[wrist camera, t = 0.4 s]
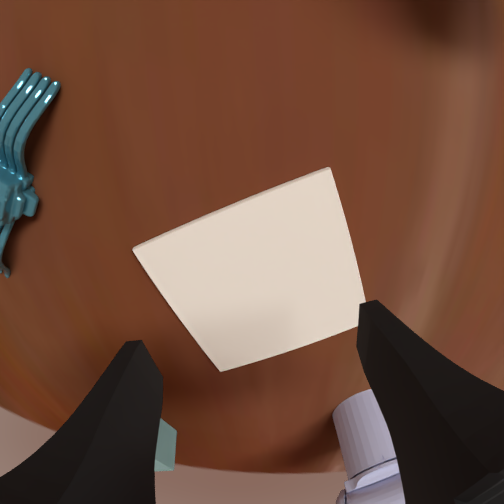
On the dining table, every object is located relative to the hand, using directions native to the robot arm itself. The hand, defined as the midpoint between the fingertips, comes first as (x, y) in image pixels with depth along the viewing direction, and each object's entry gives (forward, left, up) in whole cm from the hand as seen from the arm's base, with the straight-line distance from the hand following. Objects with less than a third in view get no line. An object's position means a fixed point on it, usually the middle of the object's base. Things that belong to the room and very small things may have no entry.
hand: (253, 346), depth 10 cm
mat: (-5, 0, -9) cm, 10 cm away
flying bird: (+9, +13, -10) cm, 18 cm away
